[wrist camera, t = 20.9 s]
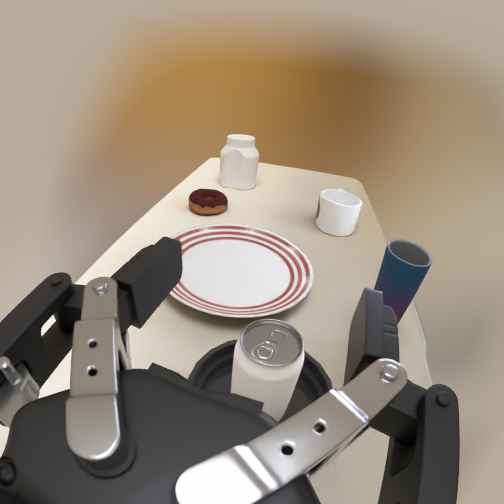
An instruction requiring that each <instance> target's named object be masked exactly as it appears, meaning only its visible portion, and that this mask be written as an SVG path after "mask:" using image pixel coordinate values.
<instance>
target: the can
mask: <svg viewBox="0 0 504 504" xmlns="http://www.w3.org/2000/svg"><path fill="white" fill-rule="evenodd" d="M303 348H304V342H303V338H302V336H301V334H300V333H299V332H298V330H297V329H296V328H294V327H293V326H292V325H290V324H288V323H286V322H284V321H281V320H276V319H261V320H257V321H254V322H252V323H250V324H249V325H247V326H246V327H245V328H244V330H243V331H242V333H241V336H240V338H239V339H238V341H237V343H236V346H235V350H234V359H233V370H232V382H231V393H235V394H238V395H241V396H244V397H247V398H251V399H254V400H257V401H261V402H264V405H263V409H262V411H264V412H266V413H267V414H269V415H270V416H272V417H273V418H274V419H275V420H276V421H277V422H278V421H279V420H280V419H281V418H282V417H283V415H284V413H285V411H286V408H287V406H288V404H289V401H290V399H291V396H292V393H293V391H294V388H295V386H296V383H297V380H298V377H299V375H300V372H301V369H302V366H303V363H304V349H303Z"/></svg>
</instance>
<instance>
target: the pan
mask: <svg viewBox="0 0 504 504" xmlns="http://www.w3.org/2000/svg"><path fill="white" fill-rule="evenodd" d="M237 341H238V339H237V340H232V341H228V342H226V343H224V344H222V345H219V346H217V347H215V348H213V349H211V350H210V351H209V352H208V353H207V354H205V355H204V356H203V357H202V358H201V359H200V360H199V361H198V362H197V363H196V365H195V367H194V369H193V370H192V372H191V374H190V376H189V378H188V381H190V382H191V383H193V384H194V385H196V386H197V387H199V388H201V389H203V390H209V391H217V392H226V393H231V382H232V370H233V359H234V350H235V346H236V343H237ZM332 389H333V387H332V383H331V380H330V378H329V377H328V375H327V374H326V372H325V371H324V369H323V367H322V366H321V365H320V363H318V362H317V361H316V360H315V359H314V358H313V357H312V356H310V355H309V354H308V353H307V352H305V351H304V363H303V366H302V369H301V372H300V375H299V377H298V380H297V383H296V386H295V388H294V391H293V393H292V396H291V399H290V401H289V404H288V406H287V408H286V411H285V413H284V415H283V417H282V418H281V419H280V420H279V421H278V422H279V424H281V423H282V422H284V421H285V420H287V419H288V418H290V417H292V416H293V415H295V414H296V413H298V412H299V411H301V410H302V409H304V408H305V407H307V406H308V405H310V404H311V403H313V402H314V401H316V400H317V399H319V398H320V397H321V396H323V395H324V394H326V393H327V392H329V391H330V390H332Z"/></svg>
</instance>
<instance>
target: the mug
mask: <svg viewBox="0 0 504 504" xmlns="http://www.w3.org/2000/svg"><path fill="white" fill-rule="evenodd" d="M361 206H362V201H361V199H359V198H358V197H357V196H355V195H353V194H351V193H348V192H345V191H343V190H342V189H341V188H338V189H337V190H336V189H325V190H322V191H321V192H320V195H319V202H318V209H317V216H316V225H317V227H318V228H319V229H320V230H322V231H323V232H325V233H328V234H330V235H334V236H349V235H351V234H352V233H353V231H354V228H355V225H356V222H357V219H358V215H359V212H360V209H361Z"/></svg>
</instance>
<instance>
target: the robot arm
mask: <svg viewBox="0 0 504 504" xmlns="http://www.w3.org/2000/svg"><path fill="white" fill-rule="evenodd" d="M182 272H183V265H182V244H181V241H180V240H176V239H172V238H168V237H163V238H162V239H160V240H159V241H158V242H157V243H156V244H155V245H150V246H148V247H145V248H143V249H141V250H140V251H139V252H138V253H137V254H136V255H135V257H134V256H133V257H132V258H131V259H130V260H129V262H127V263H126V264H124V265H123V266H122V267H121V268H120V269H119V270H118V271H117V272H116V273H114V274H113V275H112V276H111V277H110V278H109V277H99V278H96V279H93V280H91V281H90V282H89V283H88V284H87V285H77V284H73V283H72V281H71V277H70V275H68V274H67V273H55V274H52V275H50V276H49V277H47V278H46V279H45V280H44V281H43V282H42V283H41V284H39V285H38V286H37V287H36V288H35V289H34V290H33V291H32V292H31V293H30V294H29V295H28V296H27V297H26V298H24V299H23V300H22V302H20V303H19V304H18V306H16V307H15V309H13V310H12V311H11V312H10V313H9V314H8V315H7V316H6V317H5V318H4V319H3V320H2V321H1V323H0V424H1V425H3V426H7V427H9V428H10V430H9V436H8V440H7V444H6V447H5V450H4V452H3V454H2V456H1V458H0V504H321V503H320V501H319V499H318V497H317V495H316V493H315V491H314V489H313V487H312V485H311V483H310V481H309V478H310V477H312V476H313V475H314V474H316V473H317V472H318V471H320V470H321V469H322V468H324V467H325V466H326V465H327V464H329V463H330V462H331V461H332V460H333V459H334V458H335V457H337V456H338V455H339V454H340V453H341V452H342V451H344V450H345V449H346V448H347V447H348V446H350V445H351V444H352V443H353V442H354V441H355V440H356V439H358V438H359V437H360V436H361V435H362V434H363V433H364V432H365V431H366V430H368V429H369V428H370V427H372V428H374V429H376V430H378V431H380V432H382V433H384V434H386V435H388V436H390V440H389V447H388V453H387V460H386V465H385V471H384V476H383V481H382V486H381V491H380V496H379V500H378V504H456V500H457V490H458V476H459V446H460V444H459V442H460V440H459V411H458V410H459V409H458V399H457V396H456V394H455V393H454V392H453V391H452V390H451V389H450V388H449V387H447V386H445V385H442V384H435V385H432V386H431V387H429V389H428V390H426V389H424V388H422V387H420V386H418V385H416V384H414V383H412V382H411V381H410V380H408V379H407V373H406V371H405V369H404V368H403V366H402V365H401V364H400V362H399V342H398V328H397V316H396V314H395V312H394V311H393V309H392V307H391V306H387V305H383V292H382V291H377V290H373V289H369V288H364V290H363V293H362V295H361V298H360V301H359V303H358V306H357V308H356V311H355V313H354V316H353V319H352V322H351V327H350V334H349V344H348V353H347V362H346V370H345V377H344V384H343V387H342V388H341V389H340V390H338V391H337V390H336V389H332V390H330V391H329V392H327V393H326V394H324V395H323V396H321V397H320V398H319V399H317V400H316V401H314V402H313V403H311V404H310V405H308V406H307V407H305V408H304V409H302V410H301V411H299V412H298V413H296V414H295V415H293V416H292V417H290V418H288V419H287V420H285V421H284V422H282V423H281V424H279V422H277V421H276V420H275V419H274V418H273V417H272V416H270V415H269V414H267V413H266V412H264V411H262V409H263V405H264V402H261V401H257V400H254V399H251V398H247V397H244V396H241V395H238V394H235V393H226V392H217V391H209V390H203V389H201V388H199V387H197V386H196V385H194V384H193V383H191V382H190V381H188V380H187V379H186V378H184V377H183V376H181V375H180V374H178V373H177V372H174V371H172V370H169V369H167V368H164V367H162V366H159V365H157V364H155V363H152V364H151V366H150V367H149V368H148V370H147V369H132V367H131V358H130V347H129V334H128V328H129V326H130V325H132V326H135V327H137V328H139V329H140V328H141V327H142V326H143V325H144V324H145V322H146V321H147V320H148V319H149V317H150V316H151V315H152V314H153V313H154V311H155V310H156V309H157V308H158V307H159V305H160V304H161V303H162V302H163V300H164V299H165V298H166V297H167V296H168V294H169V293H170V292H171V291H172V290H173V289H174V287H175V286H176V285H177V284H178V283H179V281H180V279H181V276H182ZM52 315H54V317H55V319H56V322H55V323H54V324H53V325H52V326H51V327H50V328H49V329H48V330H47V332H46V333H45V334H44V335H43V336H41V328H42V326H43V325H44V324H45V322H46V321H47V320H48V319H49V318H50V317H51V316H52ZM71 349H72V358H71V376H70V389H68V390H65V391H62V392H58V393H55V394H52V395H49V396H46V397H43V398H39V399H38V397H39V390H40V388H41V387H42V386H43V384H44V383H45V382H46V380H47V379H48V378H49V377H50V375H51V374H52V373H53V371H54V370H55V369H56V368H57V366H58V365H59V364H60V362H61V361H62V360H63V359H64V357H65V356H66V355H67V354H68V352H69V351H70V350H71Z"/></svg>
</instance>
